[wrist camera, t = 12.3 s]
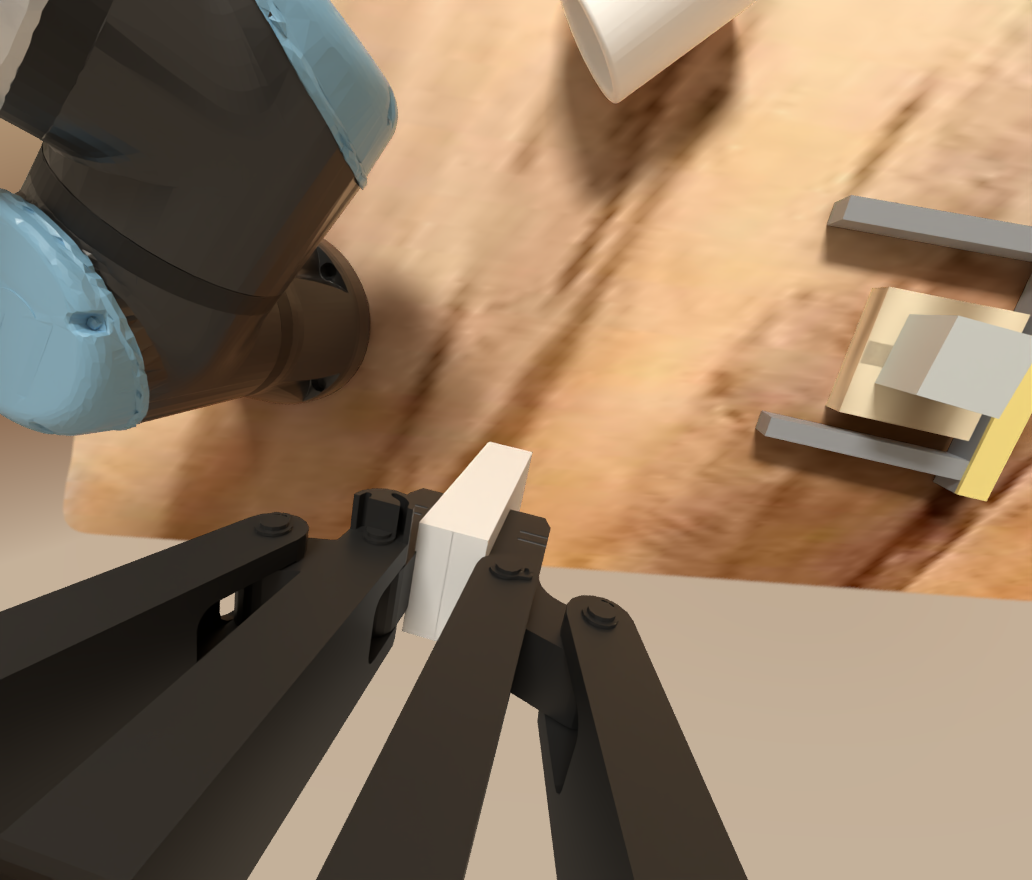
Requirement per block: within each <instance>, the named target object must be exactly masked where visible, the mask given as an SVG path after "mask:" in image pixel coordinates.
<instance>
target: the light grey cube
mask: <svg viewBox="0 0 1032 880" xmlns="http://www.w3.org/2000/svg"><path fill="white" fill-rule="evenodd" d="M1031 364H1032V336H1031V335H1027V334H1024V333H1020V332H1016V331H1013V330H1009V329H1006V328H1002V327H998V326H995V325H991V324H987V323H984V322H980V321H977V320H973V319H969V318H966V317H962V316H958V315H918V314H909V316H908V318H907V320H906V322H905V324H904V326H903V328H902V330H901V332H900V334H899V336H898V338H897V340H896V342H895V344H894V346H893V348H892V350H891V352H890V354H889V356H888V358H887V360H886V362H885V364H884V366H883V368H882V370H881V372H880V374H879V376H878V378H877V380H876V382H875V383H876V384H880V385H883V386H886V387H890V388H893V389H897V390H900V391H904V392H907V393H910V394H914V395H917V396H921V397H924V398H928V399H931V400H934V401H938V402H941V403H945V404H948V405H952V406H955V407H959V408H962V409H966V410H969V411H973V412H976V413H980V414H983V415H987V416H990V417H994V418H997V419H999V418H1000V416H1001V414H1002V413H1003V411H1004V409H1005V408H1006V406H1007V404H1008V403H1009V401H1010V399H1011V398H1012V396H1013V394H1014V393H1015V391H1016V389H1017V388H1018V386H1019V384H1020V383H1021V381H1022V379H1023V377H1024V376H1025V374H1026V372H1027V371H1028V369H1029V367H1030V366H1031Z"/></svg>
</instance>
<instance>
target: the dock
mask: <svg viewBox="0 0 1032 880" xmlns="http://www.w3.org/2000/svg"><path fill="white" fill-rule="evenodd" d="M827 225H829V226H835V227H840V228H846V229H851V230H857V231H862V232H868V233H873V234H879V235H884V236H890V237H896V238H901V239H907V240H912V241H918V242H923V243H929V244H934V245H940V246H945V247H951V248H956V249H962V250H967V251H973V252H979V253H984V254H990V255H995V256H1001V257H1006V258H1012V259H1017V260H1023V261H1028V262H1032V226H1026V225H1020V224H1015V223H1009V222H1003V221H997V220H992V219H986V218H980V217H974V216H969V215H963V214H957V213H951V212H946V211H940V210H934V209H928V208H922V207H917V206H911V205H905V204H899V203H894V202H888V201H882V200H876V199H871V198H865V197H859V196H853V195H850V196H848V197H846V198H844V199H842V200H840V201H837V202H835V203H834V206H833V209H832V212H831V215H830V217H829V220H828V223H827ZM1014 312H1019V313H1025V314H1030V317H1029V319H1028V321H1027V323H1026V325H1025V327H1024V329H1023V331H1022V333H1024V334H1027V335H1031V336H1032V274H1031V276H1030V278H1029V280H1028V282H1027V284H1026V286H1025V289H1024V291H1023V293H1022V295H1021V297H1020V299H1019V301H1018V303H1017V305H1016V308H1015V310H1014ZM1031 413H1032V364H1031V366H1030V367H1029V369H1028V371H1027V372H1026V374H1025V376H1024V377H1023V379H1022V381H1021V383H1020V384H1019V386H1018V388H1017V389H1016V391H1015V393H1014V394H1013V396H1012V398H1011V399H1010V401H1009V403H1008V404H1007V406H1006V408H1005V409H1004V411H1003V413H1002V414H1001V416H1000V418H999V419H997V418H994V417H990V416H987V415H983V414H982V415H981V417H980V419H979V421H978V423H977V425H976V427H975V429H974V431H973V433H972V436H971V438H970V440H969V441H966V440H962V439H958V438H953V441H952V443H951V445H950V447H949V449H948V451H947V452H945V451H940V450H936V449H931V448H927V447H922V446H918V445H913V444H909V443H905V442H900V441H896V440H891V439H887V438H882V437H878V436H873V435H869V434H864V433H860V432H855V431H851V430H846V429H842V428H837V427H833V426H828V425H824V424H819V423H815V422H811V421H806V420H802V419H797V418H793V417H788V416H784V415H779V414H775V413H770V412H766V411H761V414H760V417H759V419H758V422H757V425H756V429H757V430H758V431H759V432H761V433H762V434H763V435H764V436H768V437H772V438H777V439H781V440H785V441H790V442H794V443H798V444H803V445H807V446H812V447H816V448H820V449H825V450H829V451H833V452H838V453H842V454H847V455H851V456H855V457H860V458H864V459H868V460H873V461H877V462H881V463H886V464H890V465H895V466H899V467H903V468H908V469H912V470H916V471H921V472H925V473H930V474H934V475H936V476H935V479H934V481H933V482H935V483H936V484H938V485H940V486H942V487H944V488H946V489H948V490H950V491H952V492H953V493H955V494H957V495H962V496H966V497H970V498H975V499H979V500H983V501H987V499H988V497H989V495H990V493H991V491H992V489H993V487H994V485H995V483H996V481H997V480H998V478H999V476H1000V474H1001V472H1002V470H1003V468H1004V466H1005V464H1006V462H1007V460H1008V458H1009V456H1010V454H1011V452H1012V450H1013V448H1014V446H1015V444H1016V443H1017V441H1018V439H1019V437H1020V435H1021V433H1022V431H1023V429H1024V427H1025V425H1026V423H1027V421H1028V419H1029V417H1030V415H1031Z"/></svg>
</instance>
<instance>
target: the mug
mask: <svg viewBox="0 0 1032 880" xmlns="http://www.w3.org/2000/svg"><path fill="white" fill-rule="evenodd" d="M560 1H561V4H562V7H563V11H564V14H565V17H566V19H567V22H568V25H569V27H570V30H571V32H572V35H573V37H574V40H575V42H576V44H577V47H578V49H579V51H580V53H581V55H582V57H583V59H584V61H585V63H586V65H587V67H588V69H589V71H590V73H591V75H592V77H593V78H594V80H595V82H596V83H597V85H598V87H599V88H600V90H601V91H602V92H603V94H604V95H605V96H606V97H607V99H608V100H610V101H611V102H612V103H619V102H621V101H622V100H623V99H625V98H626V97H627V96H629V95H630V94H631V93H633V92H634V91H636V90H637V89H638V88H640V87H641V86H642V85H644V84H645V83H646V82H648V81H649V80H650V79H652V78H653V77H655V76H656V75H657V74H659V73H660V72H661V71H663V70H664V69H665V68H667V67H668V66H670V65H671V64H672V63H674V62H675V61H676V60H678V59H679V58H680V57H682V56H683V55H684V54H686V53H687V52H689V51H690V50H691V49H693V48H694V47H695V46H697V45H698V44H699V43H701V42H702V41H704V40H705V39H706V38H708V37H709V36H710V35H712V34H713V33H714V32H716V31H717V30H718V29H720V28H721V27H723V26H724V25H725V24H727V23H728V22H729V21H731V20H732V19H733V18H735V17H736V16H738V15H739V14H740V13H742V12H743V11H744V10H746V9H747V8H748V7H750V6H751V5H752V4H754V3H755V2H756V1H757V0H560Z"/></svg>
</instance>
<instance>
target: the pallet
mask: <svg viewBox="0 0 1032 880" xmlns="http://www.w3.org/2000/svg"><path fill="white" fill-rule="evenodd" d="M909 314H918V315H958V316H962V317H966V318H969V319H973V320H977V321H980V322H984V323H987V324H991V325H995V326H998V327H1002V328H1006V329H1009V330H1013V331H1016V332H1020V333H1022V331H1023V329H1024V327H1025V325H1026V323H1027V321H1028V319H1029V317H1030V314H1025V313H1019V312H1014V311H1009V310H1004V309H999V308H994V307H989V306H984V305H979V304H974V303H969V302H964V301H959V300H954V299H949V298H943V297H938V296H933V295H928V294H923V293H918V292H913V291H908V290H903V289H898V288H893V287H881V288H872V290H871V292H870V295H869V297H868V300H867V302H866V305H865V307H864V310H863V312H862V315H861V318H860V320H859V323H858V325H857V328H856V330H855V333H854V335H853V338H852V340H851V343H850V345H849V348H848V350H847V353H846V355H845V358H844V361H843V363H842V366H841V368H840V371H839V373H838V376H837V378H836V381H835V383H834V386H833V388H832V391H831V393H830V396H829V398H828V401H827V404H826V406H827V407H829V408H832V409H834V410H836V411H839V412H843V413H847V414H851V415H856V416H860V417H865V418H869V419H874V420H878V421H882V422H887V423H891V424H896V425H900V426H905V427H909V428H913V429H918V430H922V431H927V432H931V433H935V434H940V435H944V436H949V437H953V438H958V439H962V440H966V441H969V440H970V438H971V436H972V433H973V431H974V429H975V427H976V425H977V423H978V421H979V419H980V417H981V415H982V414H980V413H976V412H973V411H969V410H966V409H962V408H959V407H955V406H952V405H948V404H945V403H941V402H938V401H934V400H931V399H928V398H924V397H921V396H917V395H914V394H910V393H907V392H904V391H900V390H897V389H893V388H890V387H886V386H883V385H880V384H876V383H875V382H876V380H877V378H878V376H879V374H880V372H881V370H882V368H883V366H884V364H885V362H886V360H887V358H888V356H889V354H890V352H891V350H892V348H893V346H894V344H895V342H896V340H897V338H898V336H899V334H900V332H901V330H902V328H903V326H904V324H905V322H906V320H907V318H908V316H909Z"/></svg>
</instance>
